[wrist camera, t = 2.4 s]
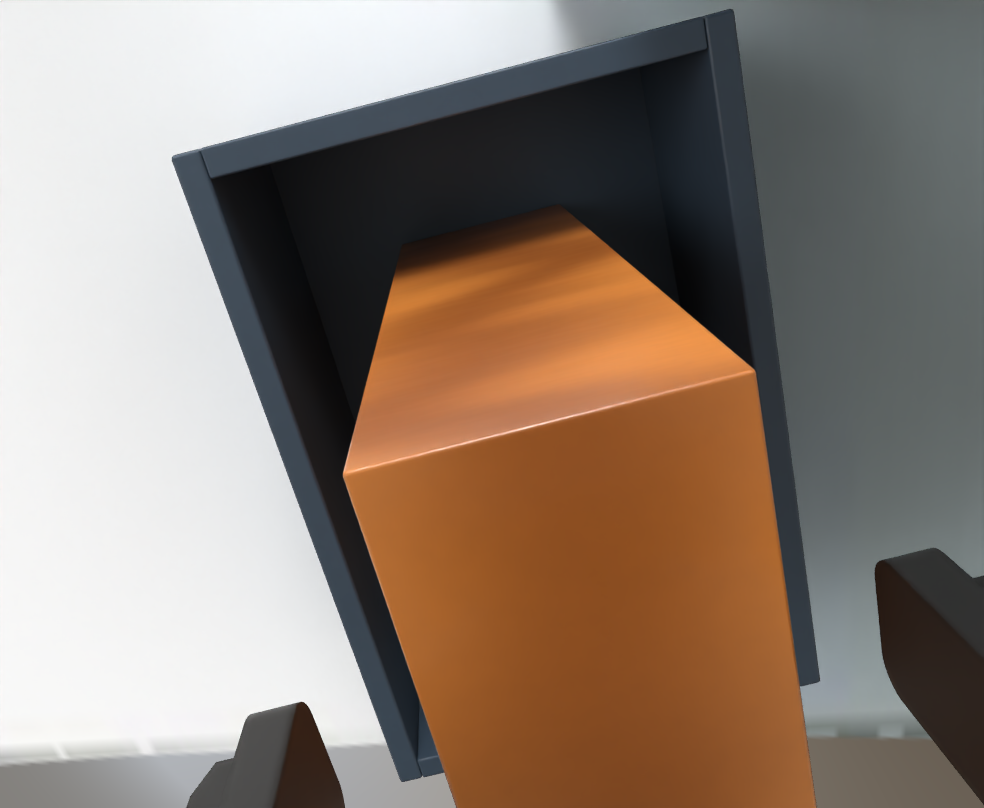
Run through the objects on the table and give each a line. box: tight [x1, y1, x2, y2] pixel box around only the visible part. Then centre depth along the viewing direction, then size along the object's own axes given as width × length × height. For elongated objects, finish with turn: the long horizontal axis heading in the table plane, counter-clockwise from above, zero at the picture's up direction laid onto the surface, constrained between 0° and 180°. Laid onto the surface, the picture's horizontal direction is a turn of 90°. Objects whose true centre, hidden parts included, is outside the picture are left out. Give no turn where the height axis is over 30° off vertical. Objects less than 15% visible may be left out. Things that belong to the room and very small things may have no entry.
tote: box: [172, 9, 820, 782], centre depth 22 cm, size 11×16×6 cm
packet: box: [343, 204, 817, 808], centre depth 17 cm, size 4×9×15 cm, turn 14°
